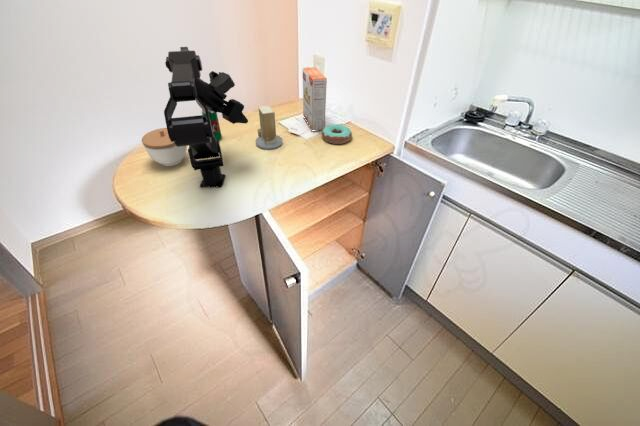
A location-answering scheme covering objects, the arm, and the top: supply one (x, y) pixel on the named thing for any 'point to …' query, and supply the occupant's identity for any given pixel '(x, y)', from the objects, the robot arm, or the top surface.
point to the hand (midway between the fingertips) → (238, 117)
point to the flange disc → (262, 145)
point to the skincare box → (267, 125)
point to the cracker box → (314, 98)
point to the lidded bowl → (163, 148)
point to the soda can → (214, 124)
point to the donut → (336, 134)
